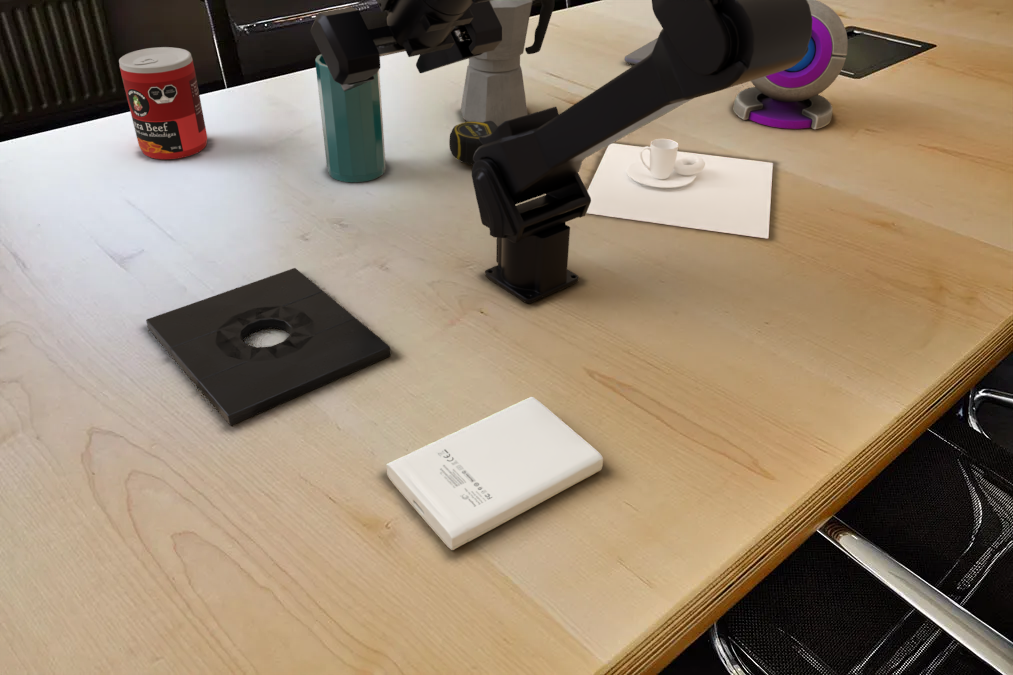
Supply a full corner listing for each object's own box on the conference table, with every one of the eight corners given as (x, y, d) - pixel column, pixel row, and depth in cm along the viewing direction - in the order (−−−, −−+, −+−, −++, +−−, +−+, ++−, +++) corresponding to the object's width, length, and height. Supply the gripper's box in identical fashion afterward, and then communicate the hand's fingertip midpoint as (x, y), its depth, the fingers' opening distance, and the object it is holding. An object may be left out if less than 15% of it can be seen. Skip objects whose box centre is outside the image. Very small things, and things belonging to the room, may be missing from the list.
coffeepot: (468, 135, 109) (467, -14, 98) (434, 112, 115) (429, -30, 105) (567, 115, 115) (576, -27, 105) (530, 93, 122) (535, -42, 112)
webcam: (728, 122, 114) (748, 5, 105) (738, 92, 124) (758, -17, 115) (829, 136, 111) (859, 16, 102) (832, 104, 121) (859, -8, 112)
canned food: (126, 152, 103) (103, 60, 96) (176, 130, 108) (157, 42, 102) (173, 165, 100) (152, 71, 93) (222, 142, 106) (205, 52, 99)
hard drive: (602, 473, 59) (452, 553, 53) (530, 410, 65) (386, 477, 59) (604, 455, 59) (452, 535, 52) (531, 393, 64) (385, 459, 58)
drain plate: (391, 356, 70) (390, 346, 70) (230, 426, 63) (228, 415, 62) (296, 276, 80) (295, 267, 79) (148, 329, 73) (145, 319, 72)
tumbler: (396, 172, 99) (390, 60, 92) (346, 187, 96) (335, 72, 88) (366, 154, 103) (357, 45, 96) (317, 168, 100) (303, 56, 92)
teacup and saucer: (704, 168, 102) (710, 135, 99) (698, 196, 95) (704, 162, 93) (631, 159, 104) (635, 126, 101) (620, 186, 97) (624, 152, 95)
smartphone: (703, 43, 141) (667, 65, 130) (702, 49, 141) (667, 71, 130) (660, 35, 144) (622, 56, 133) (659, 41, 144) (621, 63, 134)
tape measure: (514, 167, 101) (515, 137, 99) (458, 173, 99) (457, 143, 97) (496, 145, 106) (497, 116, 104) (443, 151, 105) (442, 121, 102)
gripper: (486, -105, 80) (422, -5, 93) (308, -86, 70) (265, 22, 83) (538, 1, 80) (467, 86, 93) (367, 35, 70) (314, 124, 83)
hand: (382, 77), depth 88 cm, fingers open, 9 cm apart
